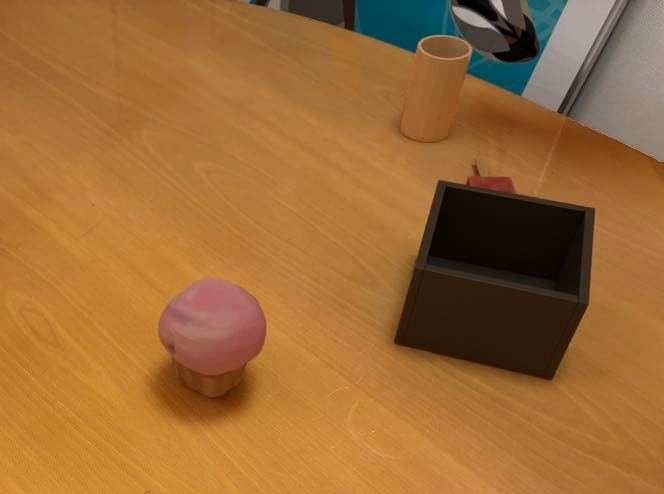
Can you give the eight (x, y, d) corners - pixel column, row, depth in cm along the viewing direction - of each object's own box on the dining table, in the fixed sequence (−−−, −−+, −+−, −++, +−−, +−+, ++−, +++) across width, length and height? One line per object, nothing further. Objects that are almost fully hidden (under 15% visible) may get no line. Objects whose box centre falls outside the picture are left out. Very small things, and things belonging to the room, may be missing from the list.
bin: (561, 284, 84) (595, 207, 77) (552, 380, 76) (589, 304, 69) (417, 254, 87) (438, 179, 81) (393, 343, 79) (414, 267, 73)
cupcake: (209, 332, 81) (214, 246, 73) (280, 381, 76) (293, 294, 69) (139, 381, 77) (136, 295, 70) (210, 435, 73) (215, 349, 65)
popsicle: (500, 149, 96) (533, 234, 87) (496, 162, 98) (528, 248, 88) (458, 149, 97) (487, 234, 87) (454, 162, 98) (482, 247, 88)
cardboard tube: (456, 124, 103) (479, 42, 96) (439, 147, 100) (461, 64, 93) (410, 112, 106) (429, 30, 98) (392, 133, 102) (410, 51, 95)
